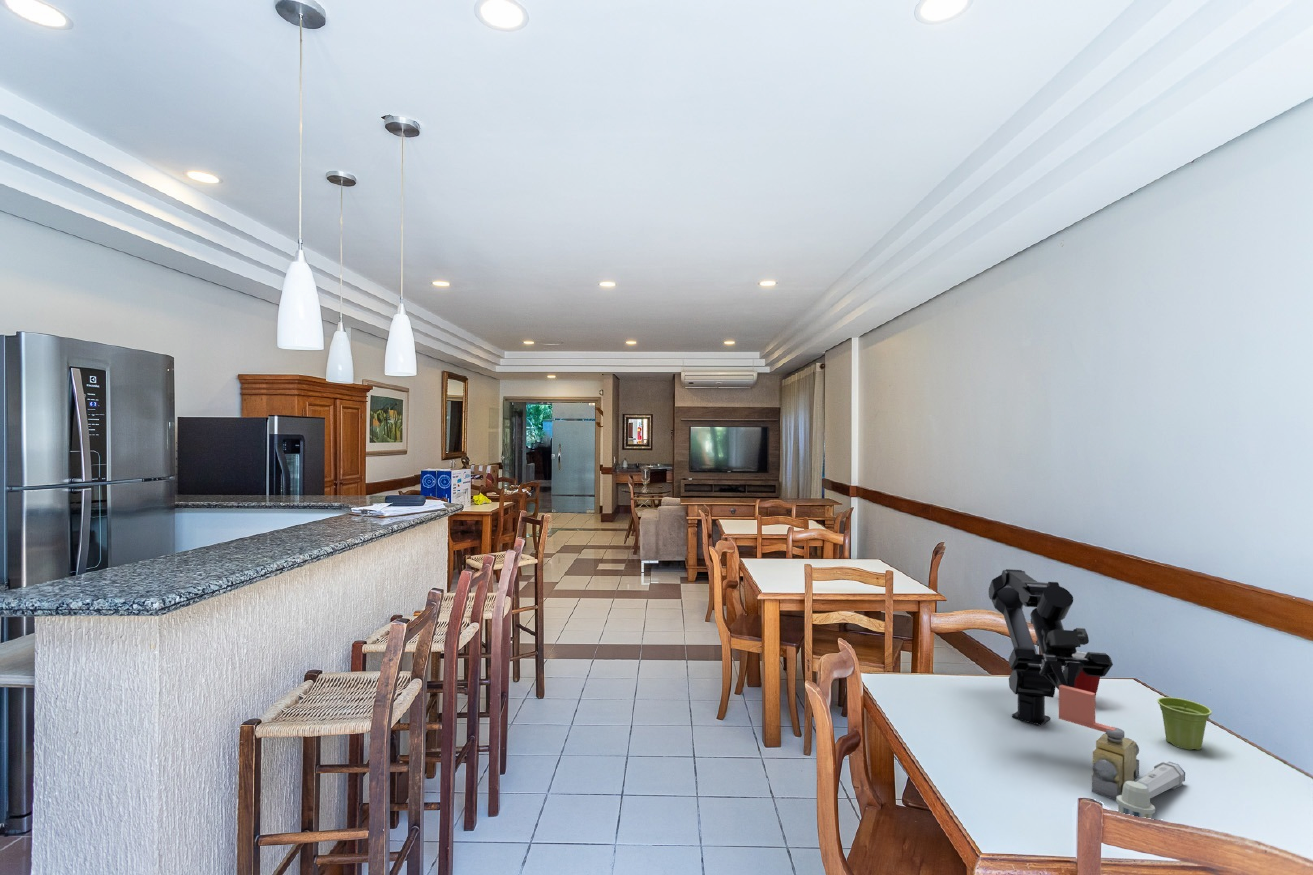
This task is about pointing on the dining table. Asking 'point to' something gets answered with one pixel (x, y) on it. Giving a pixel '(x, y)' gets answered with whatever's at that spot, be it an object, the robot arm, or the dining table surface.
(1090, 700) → the lever
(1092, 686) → the plastic cup
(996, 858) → the dining table surface
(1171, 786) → the white flashlight
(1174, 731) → the plant pot
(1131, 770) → the valve
